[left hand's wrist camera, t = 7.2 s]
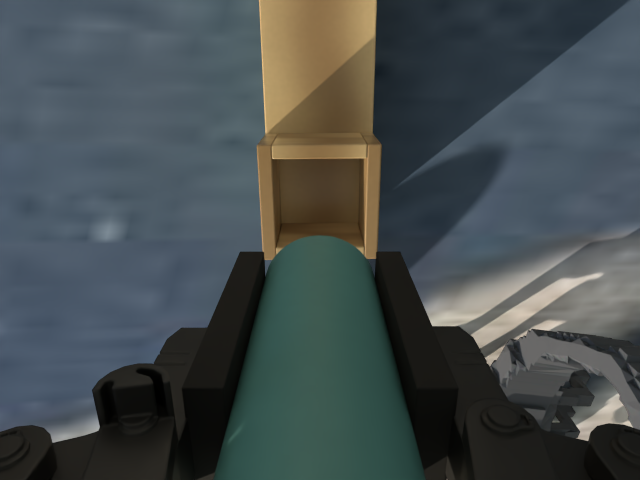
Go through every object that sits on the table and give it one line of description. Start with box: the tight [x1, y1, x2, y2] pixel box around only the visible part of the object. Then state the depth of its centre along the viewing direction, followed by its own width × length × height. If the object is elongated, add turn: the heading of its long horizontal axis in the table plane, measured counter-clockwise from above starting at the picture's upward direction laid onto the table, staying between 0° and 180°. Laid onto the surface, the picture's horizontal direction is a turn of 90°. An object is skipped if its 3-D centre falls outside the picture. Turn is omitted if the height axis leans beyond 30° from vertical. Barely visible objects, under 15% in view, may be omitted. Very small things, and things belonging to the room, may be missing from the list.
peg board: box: [257, 0, 382, 260], centre depth 23 cm, size 6×24×8 cm, turn 0°
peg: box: [213, 235, 426, 480], centre depth 10 cm, size 4×4×10 cm
